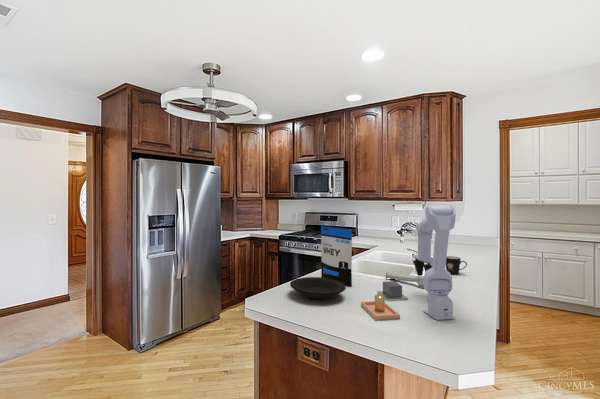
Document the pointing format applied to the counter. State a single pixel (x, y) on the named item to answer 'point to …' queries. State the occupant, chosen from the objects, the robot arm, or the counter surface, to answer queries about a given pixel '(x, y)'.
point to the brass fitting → (380, 303)
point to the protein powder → (336, 254)
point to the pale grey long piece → (407, 278)
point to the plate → (317, 287)
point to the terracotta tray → (387, 315)
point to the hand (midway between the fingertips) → (424, 277)
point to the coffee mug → (453, 265)
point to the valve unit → (392, 291)
